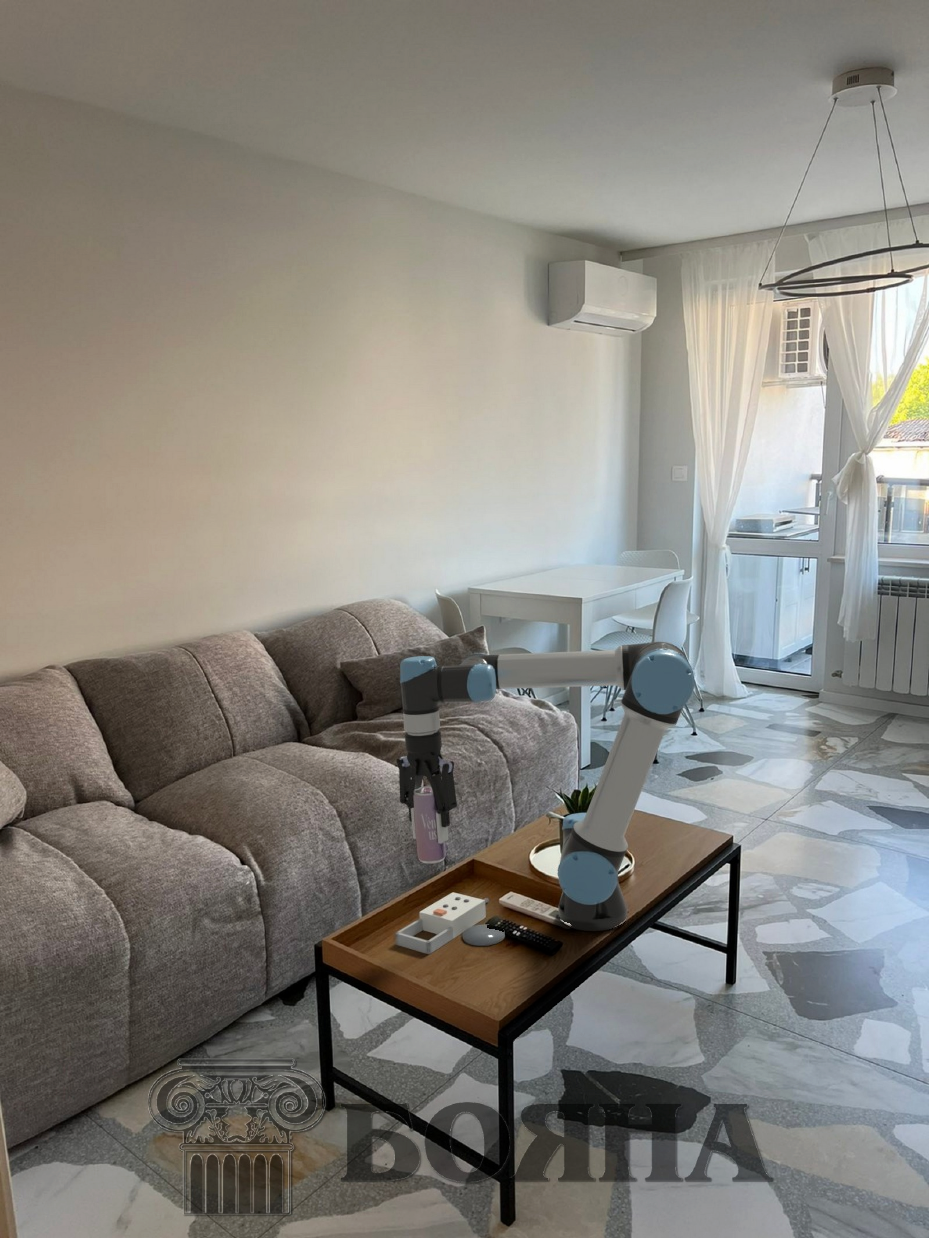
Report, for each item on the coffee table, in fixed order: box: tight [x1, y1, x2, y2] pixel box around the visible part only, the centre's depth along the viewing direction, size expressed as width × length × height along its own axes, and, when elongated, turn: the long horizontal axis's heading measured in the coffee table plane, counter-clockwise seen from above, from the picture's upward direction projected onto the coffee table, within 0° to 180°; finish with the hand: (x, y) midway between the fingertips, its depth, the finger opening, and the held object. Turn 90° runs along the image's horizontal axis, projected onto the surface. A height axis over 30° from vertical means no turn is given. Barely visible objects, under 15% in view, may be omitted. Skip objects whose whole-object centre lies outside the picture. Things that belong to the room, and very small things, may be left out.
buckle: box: [394, 891, 490, 955], centre depth 207 cm, size 28×9×5 cm, turn 144°
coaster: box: [462, 923, 506, 947], centre depth 201 cm, size 9×9×1 cm
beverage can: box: [413, 785, 447, 864], centre depth 197 cm, size 6×6×15 cm
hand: (430, 838), depth 198 cm, fingers closed on beverage can, 6 cm apart
